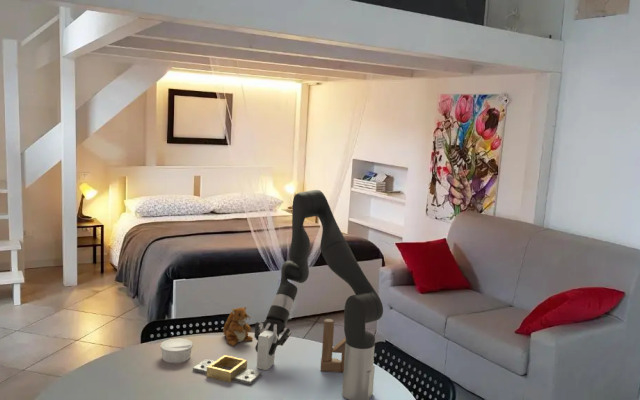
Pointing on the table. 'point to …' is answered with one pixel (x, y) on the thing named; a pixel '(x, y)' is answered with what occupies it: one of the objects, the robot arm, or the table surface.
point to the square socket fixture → (235, 374)
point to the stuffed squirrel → (237, 327)
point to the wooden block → (331, 349)
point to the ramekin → (176, 350)
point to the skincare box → (265, 350)
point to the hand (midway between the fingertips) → (263, 353)
